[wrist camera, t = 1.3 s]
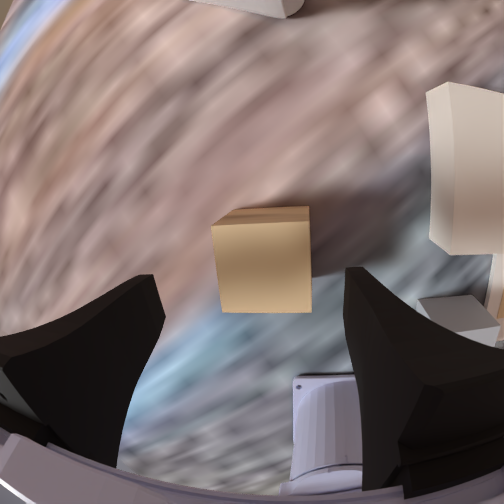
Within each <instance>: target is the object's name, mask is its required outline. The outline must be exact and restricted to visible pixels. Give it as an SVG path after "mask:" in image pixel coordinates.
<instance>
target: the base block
mask: <svg viewBox="0 0 504 504" xmlns="http://www.w3.org/2000/svg"><path fill="white" fill-rule="evenodd" d="M426 99H427V108H428V118H429V131H430V148H431V215H430V233H429V239H430V240H432V241H433V242H434V243H435V244H437V245H438V246H439V247H441V248H442V249H443V250H444V251H446V252H447V253H448V254H449V255H474V254H504V94H502V93H499V92H495V91H491V90H486V89H482V88H478V87H473V86H468V85H463V84H458V83H452V82H446V83H444V84H442V85H440V86H438V87H436V88H434V89H432V90H430V91H428V92H426Z"/></svg>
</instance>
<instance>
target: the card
mask: <svg viewBox="0 0 504 504" xmlns="http://www.w3.org/2000/svg"><path fill="white" fill-rule="evenodd" d="M484 308H485V309H486V310H487V311H488V312H489V313H490V314H491V315H492V316H493V317H494V318H495V320H496V321H497V322H498V323H499V324H500V325H501V327H500V331H499V334H498V337H497V340H496V341H501V340H504V254H493V259H492V265H491V272H490V277H489V283H488V288H487V293H486V298H485V303H484Z"/></svg>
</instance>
